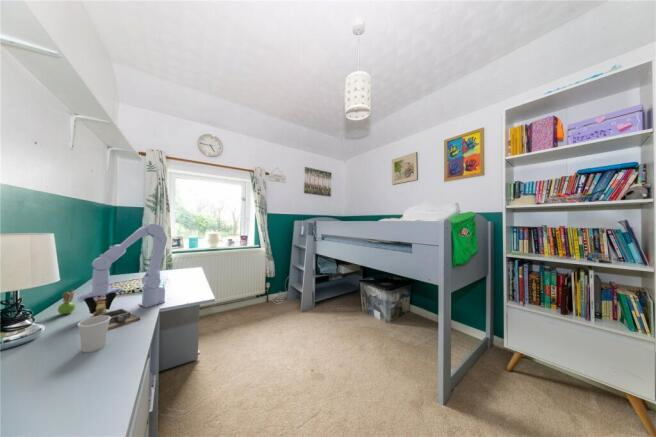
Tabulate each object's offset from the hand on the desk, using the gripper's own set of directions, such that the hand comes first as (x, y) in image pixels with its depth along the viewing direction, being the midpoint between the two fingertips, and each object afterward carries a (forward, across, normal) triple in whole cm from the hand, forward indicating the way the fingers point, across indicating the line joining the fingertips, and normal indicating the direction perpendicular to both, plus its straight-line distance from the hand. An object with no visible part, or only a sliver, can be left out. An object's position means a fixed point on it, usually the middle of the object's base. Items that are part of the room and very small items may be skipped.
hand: (99, 311), depth 107 cm
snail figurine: (+2, +7, -14) cm, 16 cm away
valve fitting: (+2, 0, 0) cm, 2 cm away
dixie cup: (+2, +12, +33) cm, 35 cm away
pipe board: (+2, -1, +13) cm, 13 cm away
